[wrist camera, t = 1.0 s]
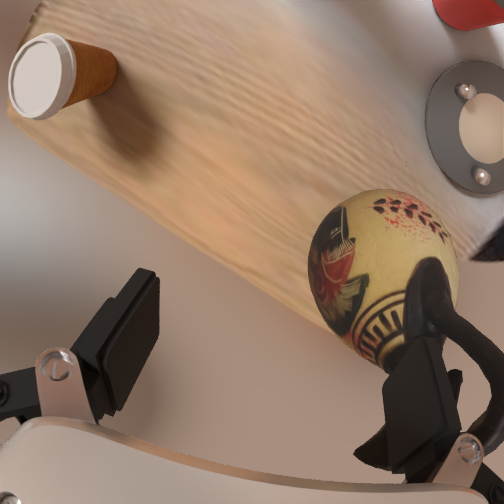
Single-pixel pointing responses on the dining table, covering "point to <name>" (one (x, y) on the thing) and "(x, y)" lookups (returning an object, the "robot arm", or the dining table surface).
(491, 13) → the beer can
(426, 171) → the dining table surface
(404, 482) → the robot arm
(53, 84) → the disposable coffee cup
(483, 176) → the steel pins
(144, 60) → the dining table surface
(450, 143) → the pin plate
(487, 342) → the ceramic jug
